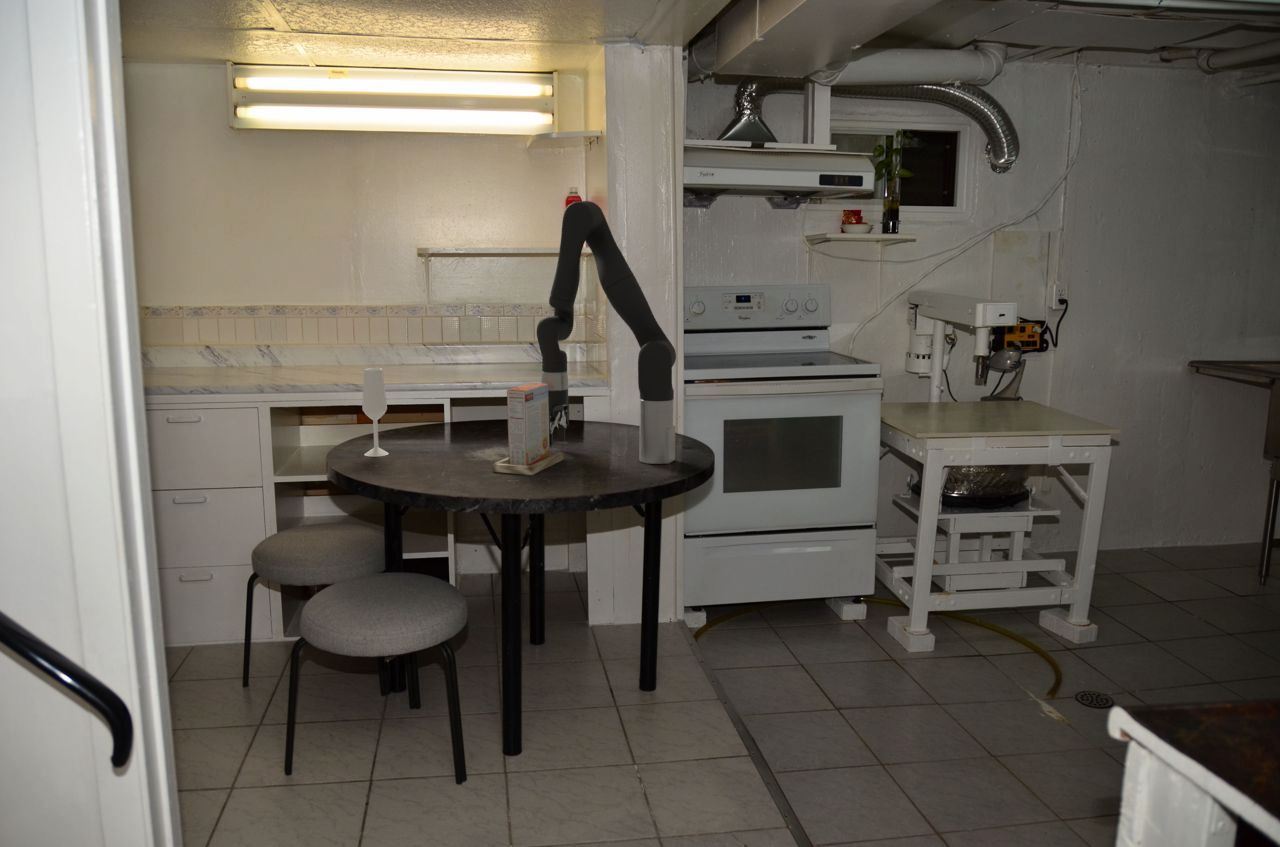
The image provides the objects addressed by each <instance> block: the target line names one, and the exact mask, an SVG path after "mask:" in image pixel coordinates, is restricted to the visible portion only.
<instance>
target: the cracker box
mask: <svg viewBox="0 0 1280 847" xmlns="http://www.w3.org/2000/svg"><path fill="white" fill-rule="evenodd" d="M506 397H507V400H506V401H507V403H506V404H507V433H508V435H507V436H508V437H507V439H508V457H509V464H511V465H522V466H531V465H533V464H535V463H538V462H540V461H542V460H544V459H546V458H548V457H550V447H549V404H548V384H541V382H540V383H539V382H531V383H526V384H523V385H520V386H517V387H513V388H510V389H506Z"/></svg>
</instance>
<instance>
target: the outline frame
mask: <svg viewBox="0 0 1280 847" xmlns="http://www.w3.org/2000/svg"><path fill="white" fill-rule="evenodd" d="M563 460H564V452H557V453H555V454H552V455H549V457H548V458H546V459H544V460H542V461H540V462H538V463H535V464H533V465H531V466H522V465H511V464H509V456H507V457H506V458H503V459H500V460H498V461H496V462H494V463H492V464H491V472H493V473H506V474H517V475H526V476H527V475H528V476H534V475H536V474H537V473H539V472H541V471H543V470H545V469H548V468H549V467H552V466H553V465H555V464H557V463H560V462H561V461H563Z"/></svg>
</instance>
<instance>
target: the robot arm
mask: <svg viewBox="0 0 1280 847" xmlns="http://www.w3.org/2000/svg"><path fill="white" fill-rule="evenodd" d="M562 215H563V216H562V224H561V235H560V236H561V237H560V243H559V244H560V245H559V252H558V258H557V264H556V270H555V274H554V278H553V281H552V285H551V286H552V287H551V290H550V292H549V293H550V294H549V299H548V303H549V305H550V306H551V307H552V308H553V310H554V312H553V313H554V314H553V316H552V315H551V316H545V317H542V318H541V319H540V320H539V322H538V323H537V326H536V337H537V342H538V347H539V351H540V354H541V359H542V360H541V361H542V362H541V371H542V372H541V382H540V384H548V404H549V448H551V447H553V444H554V443H553V442H554V440H553V439H554V437H553V434H554V433H553V432H554V430H555V427H557V428H556V436H557V437H556V439H557V441H558V442H562V443H563V442H565V441H566V428H567V426H569V424H570V412H569V411H570V409H569V408H570V407H569V406H570V405H568V404H569V375H568V356H567V355H568V354H567V353H566V351H564V350H562V349H560V344H559V342H562V341H566V340H567V339H568V338H569V337H570V336H571V334H572V333H573V332H572V331H573V328H574V321H575V320H574V318H575V316H574V314H575V310H574V309H575V302H576V298H577V296H578V291H579V286H580V278H581V257H582V251H583V248H584V244H585V242H586V244H587V246H588V248H589V250H590V251H591V253H592V255H593V257H594V261H595V264H596V271H597V276H598V280H599V283H600V286H601V289H602V290H603V292H604V294H605V296H606V298H607V300H608V301H609V303H610V305H611V307H612V308H613V309H614V311H615V312H616V314H617V315H618V316H619V317H620V318H621V320H622V321H623V322H624V323H625V324H626V325H627V327H628V328H629V329H630V330H631V332H632V333H633V335H634V337H635V339H636V341H637V344H638V346H639V348H640V350H639V352H638V357H637V380H638V381H637V386H638V391H639V433H638V434H639V436H638V437H639V439H638V440H639V441H638V442H639V446H638V447H639V449H638V450H639V451H638V455H639V456H638V458H639V459H638V460H639V462H640V463H644V464H651V465H652V464H653V465H654V464H655V465H657V464H659V465H660V464H661V465H663V464H670V463H672V462H673V461H675V460H676V426H675V425H674V406H675V405H674V403H675V402H674V399H675V398H674V397H675V395H674V393H675V391H674V388H673V366H674V365H675V363H676V359H677V353H676V349H675V347H674V345H673V344H672V343H671V341H670V339H669V338H668V336H667V335H666V334H665V332H664V330H663V329H662V328H661V326H660V325H659V323H658V321H657V319H656V318H655V316H654V314H653V311H652V309H651V307H650V305H649V303H648V300H647V298H646V296H645V294H644V292H643V290H642V288H641V286H640V284H639V282H638V280H637V278H636V276H635V274H634V273H633V270H632V269H631V267H630V266H629V264H628V262H627V261H626V258H625V257H624V255H623V252H622V251H621V249H620V248H619V245H617V243H616V240H615V238H614V236H613V233H612V232H611V228H610V227H609V224H608V222H607V219H606V215H605V214H604V212H603V210H602V208H601V207H600V206H599V205H598V204H597V203H595V202H593V201H590V200H582V201H581V200H580V201H579V200H577V201H573V202H571V203H570V204H568V206H566V208H565V210H564V212H563V214H562Z"/></svg>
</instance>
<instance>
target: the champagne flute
mask: <svg viewBox="0 0 1280 847" xmlns="http://www.w3.org/2000/svg"><path fill="white" fill-rule="evenodd" d="M363 371H364V374H363V391H362V408H361V409H362V412H364V413H363V414H365V416H367V417H368V418H369V419H370V420H372V423H373V425H372V426H373V430H372V431H373V448H372V449H370V450H368V451H367V452H365V453H364V456H366V457H384V456H388V455H389V452H387V451H386V450H384V449H382V448H380V447H379V427H378V426H379V425H378V424H379V423H378V420H379V419H381V418H382V417H383V416H384V415H385V413H387V410H388V406H387V405H388V404H387V396H386V388H385V382H384V381H385V380H384V374H383V368H380V367H369V368H364V370H363Z"/></svg>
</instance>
